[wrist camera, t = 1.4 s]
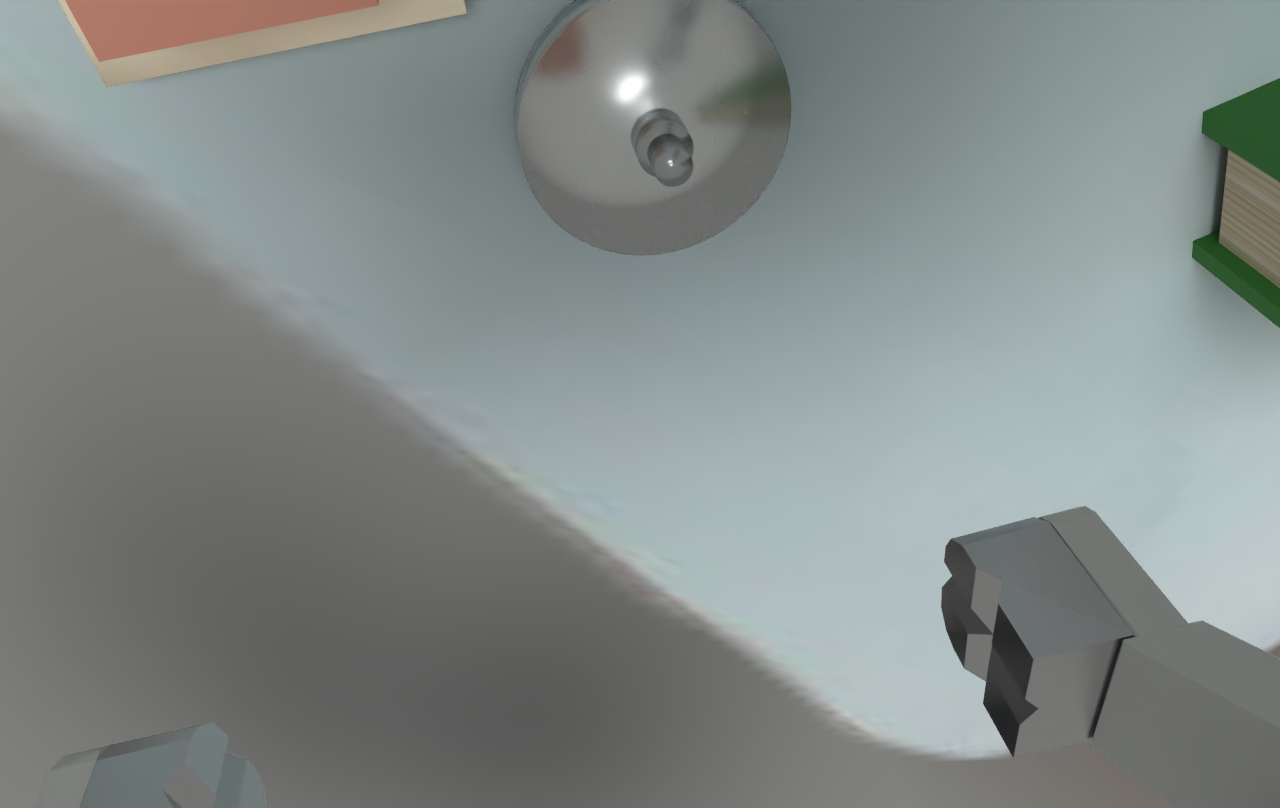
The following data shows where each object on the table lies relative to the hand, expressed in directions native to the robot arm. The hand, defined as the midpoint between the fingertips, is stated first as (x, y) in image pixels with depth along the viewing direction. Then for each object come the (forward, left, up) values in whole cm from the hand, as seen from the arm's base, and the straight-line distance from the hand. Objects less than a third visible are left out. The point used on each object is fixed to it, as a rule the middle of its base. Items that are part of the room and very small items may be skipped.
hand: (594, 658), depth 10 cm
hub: (+5, +5, -23) cm, 24 cm away
